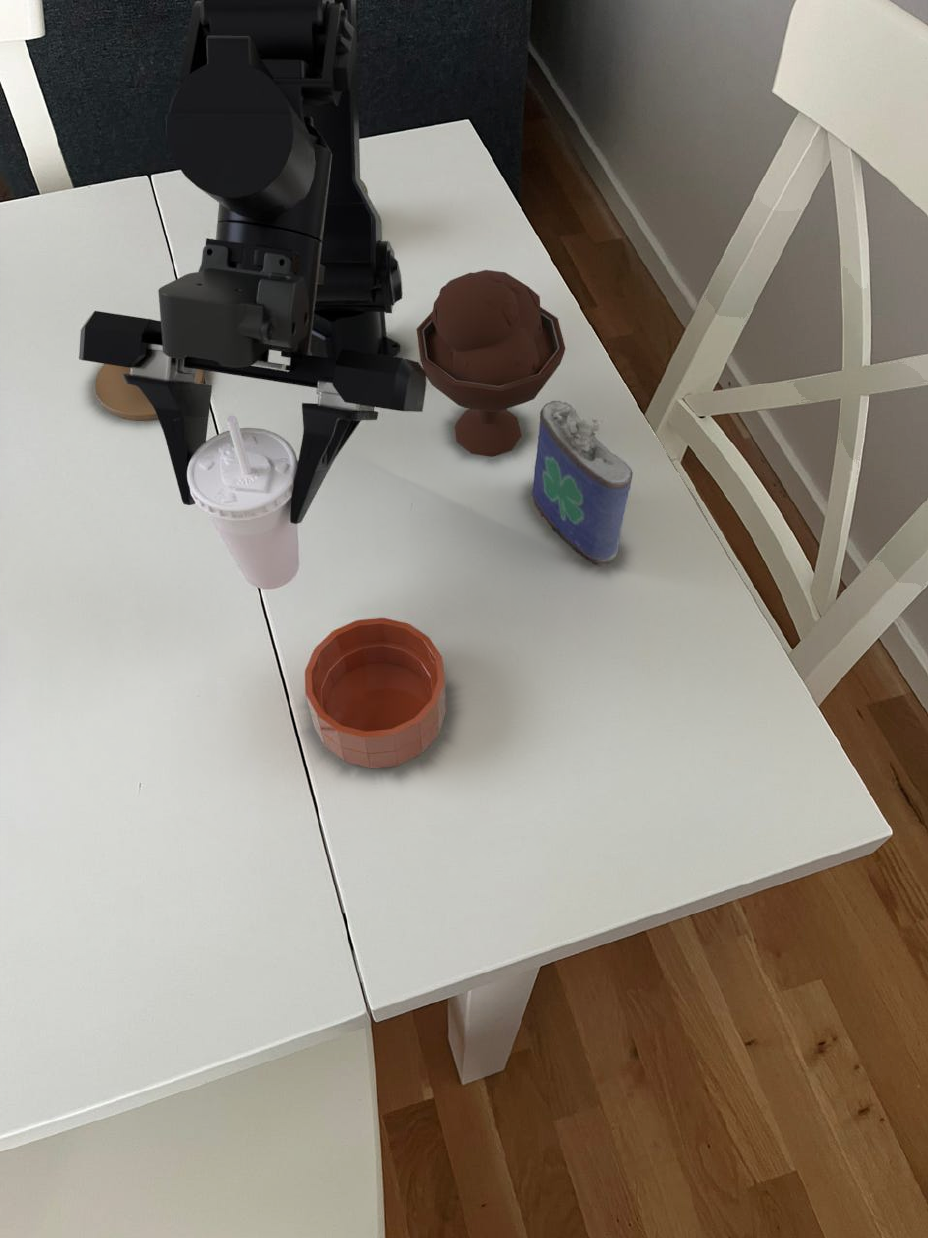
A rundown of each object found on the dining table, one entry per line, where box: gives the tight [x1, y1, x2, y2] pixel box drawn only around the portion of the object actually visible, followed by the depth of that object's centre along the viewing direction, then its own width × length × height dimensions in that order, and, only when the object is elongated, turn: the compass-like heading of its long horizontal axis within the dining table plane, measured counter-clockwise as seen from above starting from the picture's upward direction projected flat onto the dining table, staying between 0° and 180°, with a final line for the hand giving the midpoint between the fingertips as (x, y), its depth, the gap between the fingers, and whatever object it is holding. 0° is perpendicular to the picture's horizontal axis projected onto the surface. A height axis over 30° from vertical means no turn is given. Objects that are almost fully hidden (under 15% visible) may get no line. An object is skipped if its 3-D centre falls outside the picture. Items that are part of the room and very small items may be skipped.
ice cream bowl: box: [416, 269, 566, 457], centre depth 74 cm, size 11×11×15 cm
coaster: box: [94, 364, 205, 421], centre depth 83 cm, size 9×9×1 cm
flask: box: [531, 400, 634, 566], centre depth 70 cm, size 9×3×11 cm, turn 32°
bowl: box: [304, 617, 447, 769], centre depth 64 cm, size 9×9×4 cm
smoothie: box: [187, 414, 300, 590], centre depth 59 cm, size 6×6×14 cm
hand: (241, 513), depth 58 cm, fingers closed on smoothie, 6 cm apart
